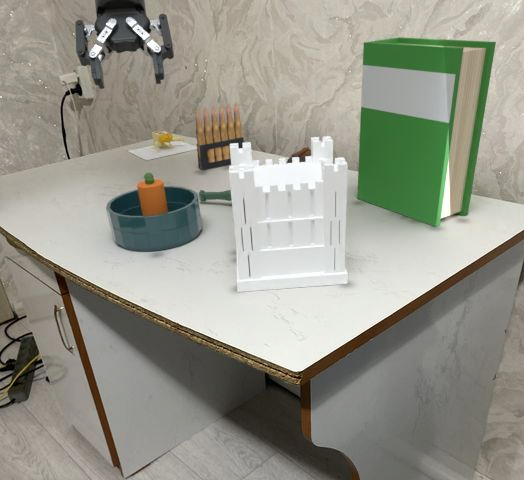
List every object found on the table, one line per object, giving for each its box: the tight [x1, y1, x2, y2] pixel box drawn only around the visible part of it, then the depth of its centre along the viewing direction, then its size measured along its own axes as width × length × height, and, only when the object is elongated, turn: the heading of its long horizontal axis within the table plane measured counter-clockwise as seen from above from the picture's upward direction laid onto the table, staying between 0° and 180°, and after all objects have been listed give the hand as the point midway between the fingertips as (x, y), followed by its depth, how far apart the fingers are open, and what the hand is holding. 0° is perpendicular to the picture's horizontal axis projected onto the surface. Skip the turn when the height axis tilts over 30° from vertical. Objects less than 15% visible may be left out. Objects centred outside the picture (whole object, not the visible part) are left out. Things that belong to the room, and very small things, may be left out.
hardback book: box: [356, 36, 497, 228], centre depth 83 cm, size 18×7×24 cm, turn 34°
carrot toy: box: [136, 171, 168, 216], centre depth 84 cm, size 4×4×9 cm
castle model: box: [228, 135, 349, 293], centre depth 70 cm, size 14×14×15 cm
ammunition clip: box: [195, 102, 245, 171], centre depth 114 cm, size 11×2×12 cm, turn 118°
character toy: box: [151, 129, 185, 148], centre depth 131 cm, size 8×3×8 cm
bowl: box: [105, 185, 203, 252], centre depth 85 cm, size 14×14×6 cm
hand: (129, 82), depth 80 cm, fingers open, 8 cm apart
